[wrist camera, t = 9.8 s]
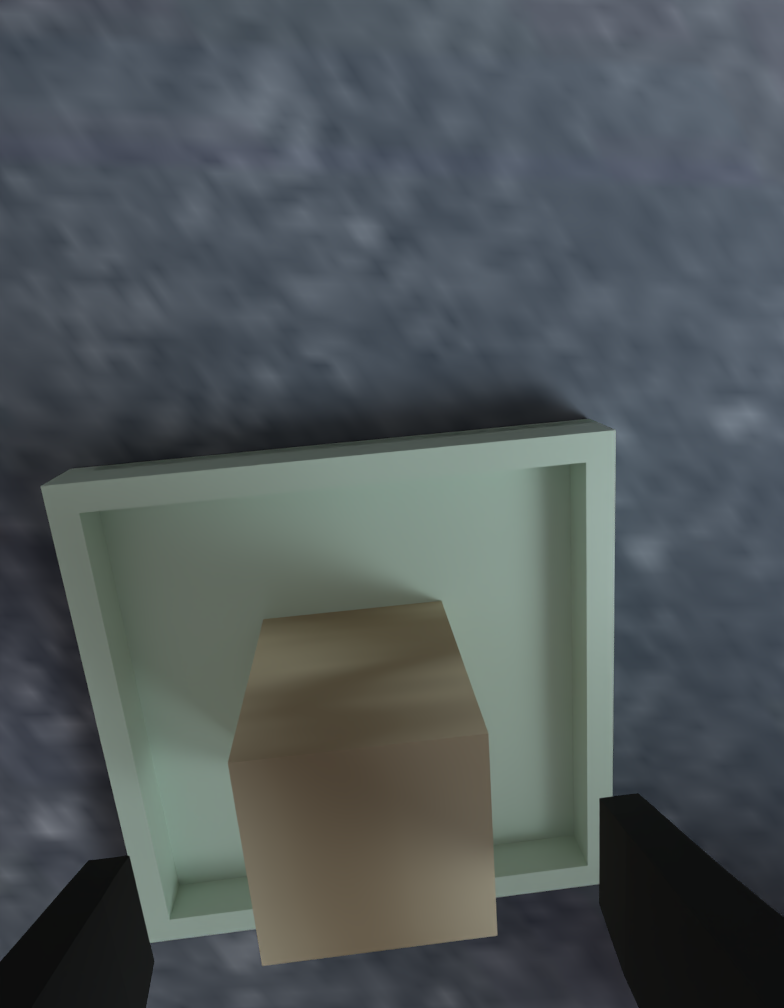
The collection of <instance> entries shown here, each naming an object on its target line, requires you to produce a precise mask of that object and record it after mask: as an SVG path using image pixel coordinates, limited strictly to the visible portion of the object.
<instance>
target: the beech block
mask: <svg viewBox="0 0 784 1008" xmlns="http://www.w3.org/2000/svg"><path fill="white" fill-rule="evenodd" d="M228 768H229V774H230V780H231V786H232V792H233V798H234V803H235V809H236V815H237V821H238V827H239V833H240V839H241V844H242V850H243V856H244V862H245V868H246V874H247V879H248V885H249V891H250V897H251V903H252V909H253V915H254V920H255V926H256V932H257V938H258V944H259V950H260V956H261V961H262V966H267V965H274V964H282V963H290V962H297V961H305V960H313V959H321V958H328V957H336V956H344V955H352V954H359V953H367V952H375V951H382V950H390V949H398V948H406V947H413V946H421V945H429V944H437V943H444V942H452V941H460V940H467V939H475V938H483V937H491V936H497V915H496V892H495V870H494V847H493V824H492V802H491V779H490V757H489V734H488V731H487V728H486V725H485V722H484V719H483V717H482V714H481V711H480V708H479V705H478V702H477V700H476V697H475V694H474V691H473V688H472V685H471V683H470V680H469V677H468V674H467V671H466V669H465V666H464V663H463V660H462V657H461V654H460V652H459V649H458V646H457V643H456V640H455V637H454V635H453V632H452V629H451V626H450V623H449V621H448V618H447V615H446V612H445V609H444V606H443V604H442V601H434V602H425V603H415V604H405V605H396V606H386V607H376V608H367V609H357V610H347V611H338V612H328V613H318V614H309V615H299V616H290V617H280V618H270V619H263V622H262V626H261V630H260V635H259V639H258V643H257V647H256V651H255V655H254V659H253V663H252V667H251V671H250V675H249V679H248V683H247V687H246V691H245V695H244V699H243V703H242V707H241V711H240V715H239V719H238V723H237V727H236V731H235V735H234V739H233V743H232V748H231V752H230V756H229V760H228Z"/></svg>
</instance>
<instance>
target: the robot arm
mask: <svg viewBox="0 0 784 1008" xmlns="http://www.w3.org/2000/svg"><path fill="white" fill-rule="evenodd" d="M599 904H600V907H601V910H602V913H603V916H604V919H605V922H606V925H607V928H608V931H609V934H610V937H611V940H612V943H613V945H614V948H615V951H616V954H617V956H618V959H619V962H620V965H621V968H622V970H623V973H624V976H625V978H626V980H627V983H628V985H629V987H630V989H631V991H632V994H633V996H634V998H635V1000H636V1002H637V1005H638V1007H639V1008H784V917H782V916H781V915H780V914H779V913H777V912H776V911H775V910H774V909H772V908H771V907H770V906H769V905H767V904H766V903H765V902H764V901H763V900H761V899H760V898H759V897H758V896H757V895H755V894H754V893H753V892H752V891H750V890H749V889H748V888H747V887H746V886H744V885H743V884H742V883H741V882H740V881H738V880H737V879H736V878H735V877H733V876H732V875H731V874H730V873H729V872H728V871H726V870H725V869H724V868H723V867H722V866H720V865H719V864H718V863H717V862H716V861H715V860H713V859H712V858H711V857H710V856H709V855H708V854H707V853H705V852H704V851H703V850H702V849H701V848H700V847H699V846H697V845H696V844H695V843H694V842H693V841H692V840H690V839H689V838H688V837H687V836H686V835H685V834H684V833H683V832H681V831H680V830H679V829H678V828H677V827H676V826H675V825H674V824H672V823H671V822H670V821H669V820H668V819H667V818H666V817H665V816H663V815H662V814H661V813H660V812H659V811H658V810H657V809H655V808H654V807H653V806H652V805H651V804H650V803H649V802H647V801H646V800H645V799H644V798H643V797H642V796H640V795H639V794H638V793H637V794H629V795H621V796H613V797H605V798H599ZM153 965H154V958H153V954H152V950H151V945H150V941H149V937H148V933H147V928H146V924H145V920H144V915H143V911H142V907H141V903H140V898H139V894H138V890H137V886H136V881H135V877H134V873H133V868H132V864H131V860H130V856H122V857H114V858H106V859H98V860H89V861H88V862H87V863H86V864H85V865H84V866H83V867H82V869H81V870H80V871H79V872H78V873H77V874H76V875H75V876H74V878H73V879H72V880H71V881H70V882H69V883H68V884H67V886H66V887H65V888H64V889H63V890H62V891H61V892H60V894H59V895H58V896H57V897H56V898H55V899H54V901H53V902H52V903H51V904H50V905H49V906H48V907H47V909H46V910H45V911H44V912H43V913H42V914H41V916H40V917H39V918H38V919H37V920H36V921H35V923H34V924H33V925H32V926H31V927H30V928H29V929H28V931H27V932H26V933H25V934H24V935H23V936H22V938H21V939H20V940H19V941H18V942H17V943H16V944H15V946H14V947H13V948H12V949H11V950H10V951H9V952H8V954H7V955H6V956H5V957H4V958H3V959H2V960H1V961H0V1008H146V1004H147V998H148V993H149V987H150V982H151V976H152V971H153Z"/></svg>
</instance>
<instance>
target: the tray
mask: <svg viewBox="0 0 784 1008" xmlns="http://www.w3.org/2000/svg"><path fill="white" fill-rule="evenodd" d="M615 452H616V430H614V429H612V428H610V427H607V426H605V425H603V424H600V423H598V422H596V421H593V420H591V419H580V420H570V421H559V422H549V423H539V424H528V425H518V426H508V427H497V428H487V429H477V430H466V431H456V432H445V433H435V434H425V435H414V436H404V437H394V438H383V439H373V440H363V441H352V442H342V443H332V444H321V445H311V446H301V447H290V448H280V449H270V450H259V451H249V452H238V453H228V454H218V455H207V456H197V457H187V458H176V459H166V460H156V461H145V462H135V463H125V464H114V465H104V466H94V467H83V468H73V469H69V470H67V471H66V472H64V473H62V474H61V475H59V476H57V477H55V478H54V479H52V480H50V481H49V482H47V483H45V484H43V485H42V486H40V487H41V491H42V495H43V499H44V504H45V508H46V512H47V516H48V521H49V525H50V529H51V533H52V538H53V542H54V546H55V550H56V554H57V559H58V563H59V567H60V571H61V576H62V580H63V584H64V588H65V592H66V597H67V601H68V605H69V609H70V614H71V618H72V622H73V626H74V631H75V635H76V639H77V643H78V647H79V652H80V656H81V660H82V664H83V669H84V673H85V677H86V681H87V685H88V690H89V694H90V698H91V702H92V707H93V711H94V715H95V719H96V724H97V728H98V732H99V736H100V740H101V745H102V749H103V753H104V757H105V762H106V766H107V770H108V774H109V778H110V783H111V787H112V791H113V795H114V800H115V804H116V808H117V812H118V817H119V821H120V825H121V829H122V833H123V838H124V842H125V846H126V850H127V855H128V856H130V860H131V864H132V868H133V873H134V877H135V881H136V886H137V890H138V894H139V898H140V903H141V907H142V911H143V915H144V920H145V924H146V928H147V933H148V937H149V941H150V943H153V942H161V941H168V940H176V939H184V938H191V937H199V936H206V935H214V934H222V933H229V932H237V931H245V930H252V929H256V926H255V920H254V915H253V909H252V903H251V897H250V891H249V885H248V879H247V874H246V868H245V862H244V856H243V850H242V844H241V839H240V833H239V827H238V821H237V815H236V809H235V803H234V798H233V792H232V786H231V780H230V774H229V768H228V760H229V756H230V752H231V748H232V743H233V739H234V735H235V731H236V727H237V723H238V719H239V715H240V711H241V707H242V703H243V699H244V695H245V691H246V687H247V683H248V679H249V675H250V671H251V667H252V663H253V659H254V655H255V651H256V647H257V643H258V639H259V635H260V630H261V626H262V622H263V619H270V618H280V617H290V616H299V615H309V614H318V613H328V612H338V611H347V610H357V609H367V608H376V607H386V606H396V605H405V604H415V603H425V602H434V601H442V604H443V606H444V609H445V612H446V615H447V618H448V621H449V623H450V626H451V629H452V632H453V635H454V637H455V640H456V643H457V646H458V649H459V652H460V654H461V657H462V660H463V663H464V666H465V669H466V671H467V674H468V677H469V680H470V683H471V685H472V688H473V691H474V694H475V697H476V700H477V702H478V705H479V708H480V711H481V714H482V717H483V719H484V722H485V725H486V728H487V731H488V734H489V757H490V779H491V802H492V824H493V847H494V870H495V892H496V897H504V896H512V895H519V894H527V893H535V892H542V891H550V890H558V889H565V888H573V887H580V886H588V885H596V884H599V798H605V797H612V796H613V681H614V567H615Z"/></svg>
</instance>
